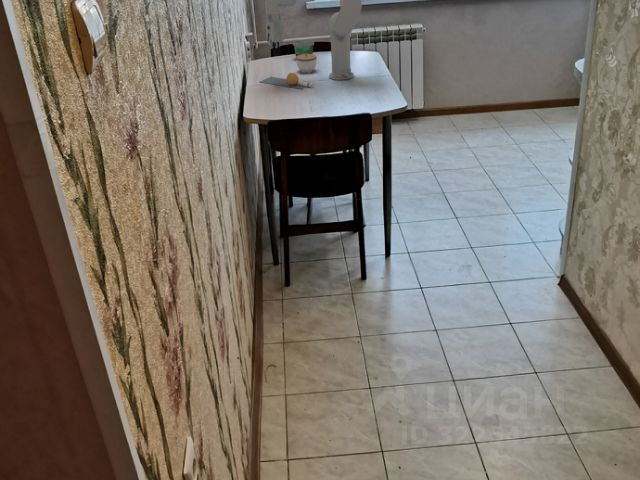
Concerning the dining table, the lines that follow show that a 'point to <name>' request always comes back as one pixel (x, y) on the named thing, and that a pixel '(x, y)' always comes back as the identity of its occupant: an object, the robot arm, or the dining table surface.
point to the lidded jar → (306, 62)
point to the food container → (303, 47)
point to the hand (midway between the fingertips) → (276, 55)
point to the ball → (292, 79)
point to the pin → (305, 84)
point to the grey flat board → (280, 82)
